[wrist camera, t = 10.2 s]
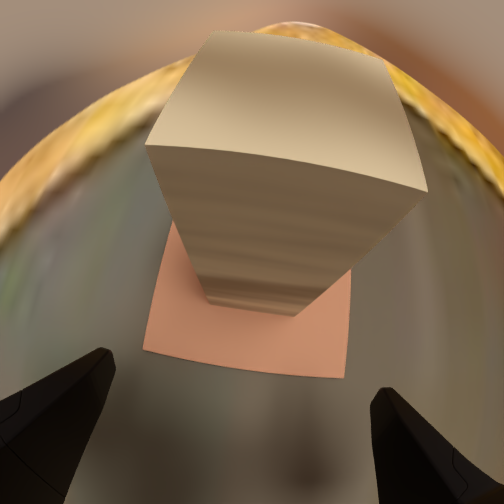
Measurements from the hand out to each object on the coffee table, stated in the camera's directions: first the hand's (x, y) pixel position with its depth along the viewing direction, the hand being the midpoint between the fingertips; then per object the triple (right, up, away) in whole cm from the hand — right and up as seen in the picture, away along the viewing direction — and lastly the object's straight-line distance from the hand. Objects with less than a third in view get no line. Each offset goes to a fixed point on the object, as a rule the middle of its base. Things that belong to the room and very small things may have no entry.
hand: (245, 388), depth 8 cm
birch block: (+1, +3, +9) cm, 10 cm away
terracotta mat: (0, +3, +10) cm, 10 cm away
